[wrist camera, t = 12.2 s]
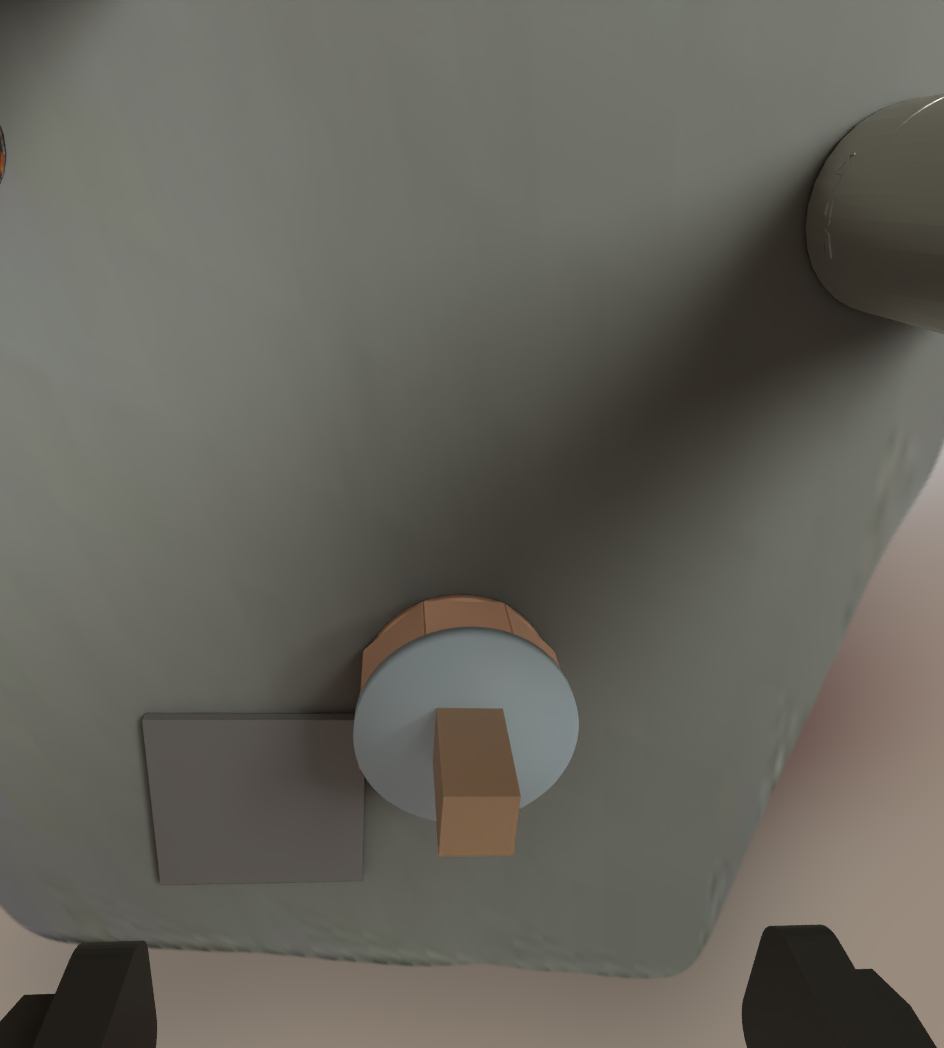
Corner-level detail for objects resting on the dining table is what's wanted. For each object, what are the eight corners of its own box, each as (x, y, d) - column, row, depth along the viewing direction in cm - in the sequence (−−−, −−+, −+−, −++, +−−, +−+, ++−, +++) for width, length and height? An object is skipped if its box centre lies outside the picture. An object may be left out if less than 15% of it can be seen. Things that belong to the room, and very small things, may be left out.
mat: (366, 713, 45) (365, 720, 44) (362, 873, 49) (362, 881, 49) (145, 713, 43) (141, 719, 43) (163, 877, 48) (160, 885, 47)
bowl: (558, 596, 43) (577, 644, 38) (539, 751, 47) (554, 813, 42) (364, 592, 42) (360, 642, 37) (361, 752, 46) (357, 815, 41)
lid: (588, 628, 38) (627, 718, 31) (560, 808, 42) (590, 920, 36) (356, 624, 37) (347, 716, 30) (352, 809, 41) (343, 925, 34)
